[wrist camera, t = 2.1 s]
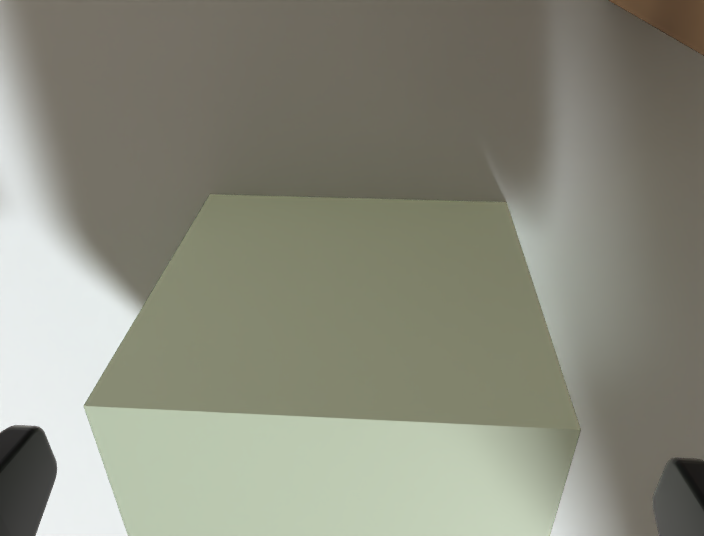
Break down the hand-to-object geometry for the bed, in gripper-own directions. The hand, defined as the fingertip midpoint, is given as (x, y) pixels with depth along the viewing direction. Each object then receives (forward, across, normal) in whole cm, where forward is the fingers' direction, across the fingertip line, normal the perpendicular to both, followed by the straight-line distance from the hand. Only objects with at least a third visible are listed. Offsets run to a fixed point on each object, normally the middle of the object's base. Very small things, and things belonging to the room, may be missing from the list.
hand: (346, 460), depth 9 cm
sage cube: (+3, 0, 0) cm, 3 cm away
